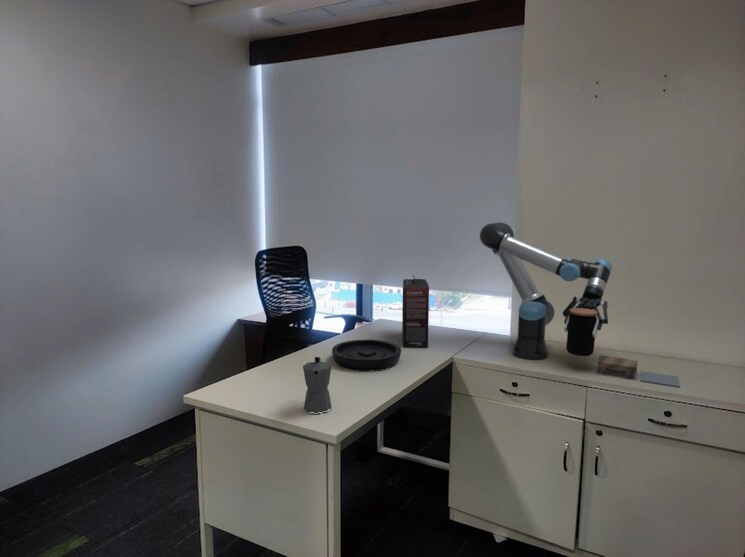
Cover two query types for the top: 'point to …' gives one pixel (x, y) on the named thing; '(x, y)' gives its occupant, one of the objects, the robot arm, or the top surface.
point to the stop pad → (659, 379)
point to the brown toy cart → (617, 365)
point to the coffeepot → (317, 386)
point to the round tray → (366, 354)
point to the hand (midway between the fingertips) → (579, 332)
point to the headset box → (415, 312)
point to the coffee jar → (581, 331)
